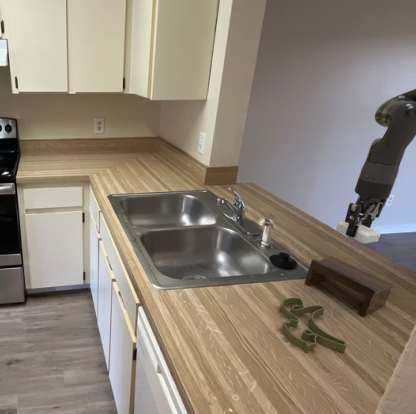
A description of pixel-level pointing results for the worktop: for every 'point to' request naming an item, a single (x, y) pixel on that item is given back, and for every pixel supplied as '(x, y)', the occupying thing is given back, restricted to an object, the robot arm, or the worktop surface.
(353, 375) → the worktop surface
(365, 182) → the robot arm
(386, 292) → the dark wooden riser
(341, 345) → the cookie cutter
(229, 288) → the worktop surface
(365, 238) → the soap
